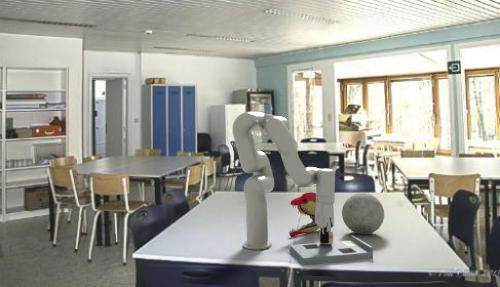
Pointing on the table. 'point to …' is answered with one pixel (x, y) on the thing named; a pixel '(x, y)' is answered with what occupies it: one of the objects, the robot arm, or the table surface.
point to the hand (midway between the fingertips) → (324, 242)
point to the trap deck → (332, 251)
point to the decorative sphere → (363, 213)
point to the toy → (307, 207)
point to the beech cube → (329, 238)
